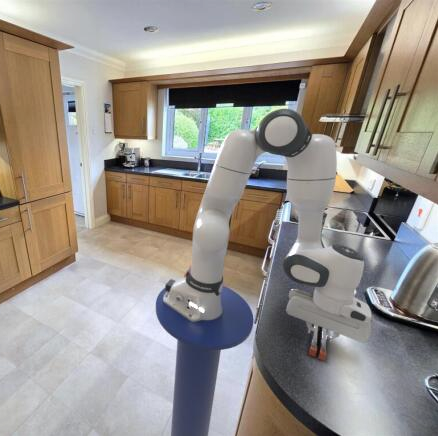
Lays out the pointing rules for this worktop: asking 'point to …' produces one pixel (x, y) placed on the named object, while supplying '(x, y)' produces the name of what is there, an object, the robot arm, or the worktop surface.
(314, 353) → the tongs
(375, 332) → the worktop surface
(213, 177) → the robot arm
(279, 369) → the worktop surface
